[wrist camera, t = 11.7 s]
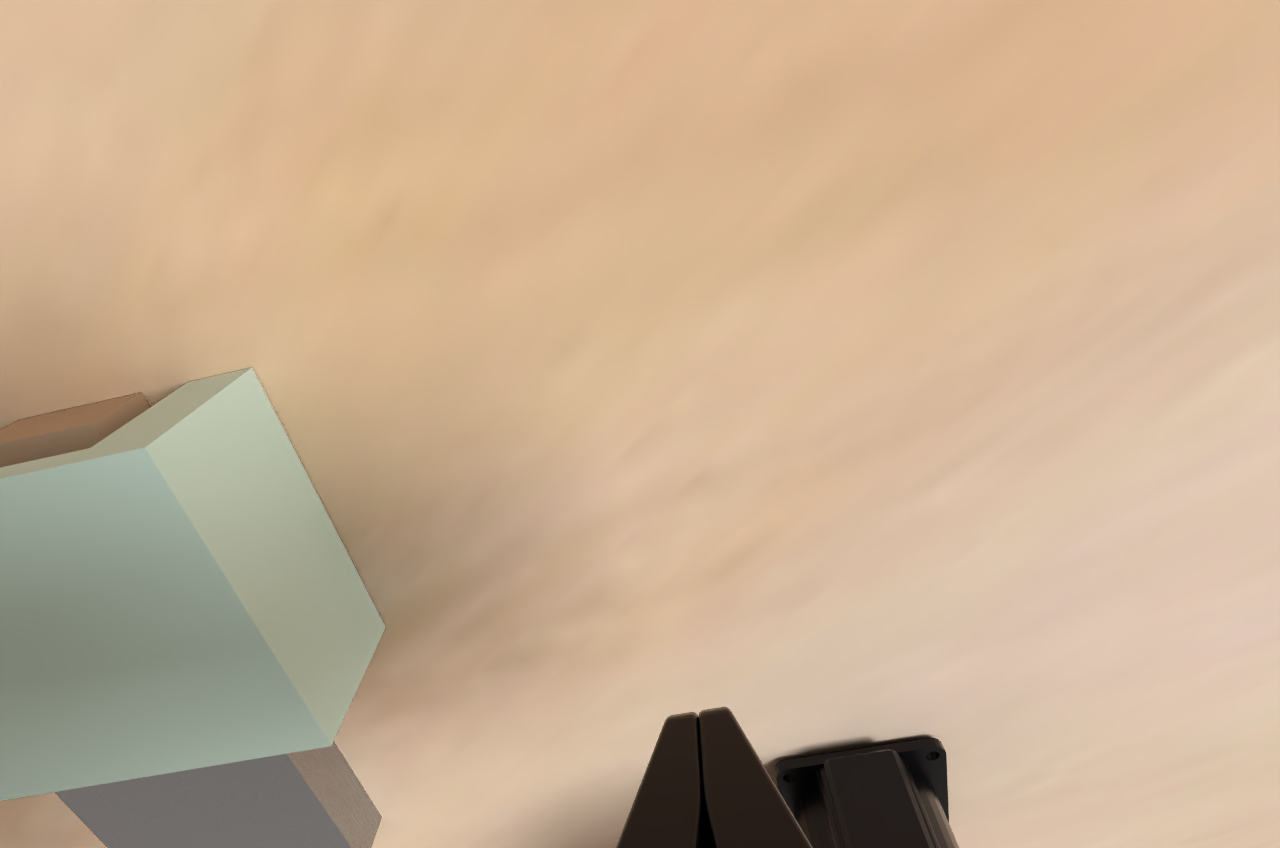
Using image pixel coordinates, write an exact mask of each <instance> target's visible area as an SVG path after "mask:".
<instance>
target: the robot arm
mask: <svg viewBox="0 0 1280 848" xmlns="http://www.w3.org/2000/svg"><path fill="white" fill-rule="evenodd" d="M775 774H776V779H777V784H778V789H779V791H778V789H777V787H776V786H775V784H774V782H773V781H772V779H771V777H770V776H769V774H768V772H767V770H766V769H765V767H764V765H763V764H762V762H761V760H760V759H759V757H758V755H757V754H756V752H755V750H754V749H753V747H752V745H751V744H750V742H749V740H748V739H747V737H746V735H745V734H744V732H743V730H742V729H741V727H740V725H739V724H738V722H737V720H736V719H735V717H734V715H733V714H732V712H731V711H730V709H728V708H727V707H720V708H714V709H707V710H703V711H701V712H700V713H699V716H698V715H697V714H696V713H694V712H689V713H683V714H676V715H671V716H669V717H668V718H667V719H666V721H665V723H664V725H663V728H662V730H661V733H660V735H659V738H658V741H657V743H656V746H655V748H654V751H653V754H652V756H651V759H650V761H649V764H648V767H647V769H646V772H645V774H644V777H643V779H642V782H641V785H640V787H639V790H638V792H637V795H636V798H635V800H634V803H633V805H632V808H631V811H630V813H629V816H628V818H627V821H626V823H625V826H624V829H623V831H622V834H621V836H620V839H619V842H618V844H617V847H616V848H959V846H958V844H957V842H956V839H955V837H954V834H953V832H952V830H951V827H950V825H949V814H948V788H947V762H946V752H945V750H944V747H943V745H942V743H941V741H939V740H938V739H935V738H926V739H920V740H913V741H907V742H900V743H894V744H887V745H881V746H874V747H868V748H861V749H855V750H848V751H842V752H835V753H829V754H822V755H816V756H809V757H803V758H796V759H790V760H784V761H781V762H779V763H778V764H777V765H776V766H775Z"/></svg>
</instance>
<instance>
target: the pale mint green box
mask: <svg viewBox="0 0 1280 848" xmlns="http://www.w3.org/2000/svg"><path fill="white" fill-rule="evenodd" d="M385 628H386V626H385V624H384V623H383V621H382V619H381V617H380V615H379V613H378V611H377V609H376V607H375V605H374V603H373V601H372V599H371V597H370V595H369V593H368V591H367V589H366V588H365V586H364V584H363V582H362V580H361V578H360V576H359V574H358V572H357V570H356V568H355V566H354V564H353V562H352V560H351V558H350V556H349V554H348V553H347V551H346V549H345V547H344V545H343V543H342V541H341V539H340V537H339V535H338V533H337V531H336V529H335V527H334V525H333V523H332V521H331V519H330V518H329V516H328V514H327V512H326V510H325V508H324V506H323V504H322V502H321V500H320V498H319V496H318V494H317V492H316V490H315V488H314V486H313V484H312V483H311V481H310V479H309V477H308V475H307V473H306V471H305V469H304V467H303V465H302V463H301V461H300V459H299V457H298V455H297V453H296V451H295V449H294V448H293V446H292V444H291V442H290V440H289V438H288V436H287V434H286V432H285V430H284V428H283V426H282V424H281V422H280V420H279V418H278V416H277V414H276V413H275V411H274V409H273V407H272V405H271V403H270V401H269V399H268V397H267V395H266V393H265V391H264V389H263V387H262V385H261V383H260V381H259V379H258V378H257V376H256V374H255V372H254V370H253V368H247V369H243V370H239V371H234V372H230V373H225V374H221V375H216V376H212V377H207V378H203V379H198V380H194V381H190V382H187V383H186V384H184V385H183V386H181V387H180V388H178V389H177V390H175V391H174V392H172V393H171V394H169V395H168V396H167V397H165V398H164V399H162V400H161V401H159V402H158V403H156V404H155V405H153V406H152V407H150V406H149V404H148V403H147V401H146V399H145V398H144V396H143V394H142V393H141V392H140V393H136V394H132V395H127V396H123V397H118V398H114V399H109V400H105V401H100V402H96V403H91V404H87V405H83V406H78V407H74V408H69V409H65V410H60V411H56V412H51V413H47V414H42V415H38V416H33V417H29V418H25V419H20V420H18V421H16V422H14V423H12V424H10V425H8V426H7V427H5V428H3V429H1V430H0V801H4V800H10V799H16V798H22V797H28V796H34V795H40V794H46V793H52V792H58V791H64V790H70V789H76V788H82V787H88V786H94V785H100V784H106V783H112V782H118V781H124V780H130V779H136V778H142V777H148V776H154V775H160V774H166V773H172V772H178V771H184V770H190V769H196V768H203V767H209V766H215V765H221V764H227V763H233V762H239V761H245V760H251V759H257V758H263V757H269V756H275V755H281V754H287V753H293V752H299V751H305V750H311V749H317V748H323V747H329V746H332V744H333V742H334V739H335V737H336V735H337V733H338V731H339V728H340V726H341V724H342V722H343V720H344V717H345V715H346V713H347V711H348V709H349V707H350V704H351V702H352V700H353V698H354V696H355V693H356V691H357V689H358V687H359V685H360V683H361V680H362V678H363V676H364V674H365V672H366V669H367V667H368V665H369V663H370V661H371V659H372V656H373V654H374V652H375V650H376V648H377V645H378V643H379V641H380V639H381V637H382V635H383V632H384V630H385Z"/></svg>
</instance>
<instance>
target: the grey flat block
mask: <svg viewBox="0 0 1280 848" xmlns="http://www.w3.org/2000/svg"><path fill="white" fill-rule="evenodd" d="M55 793H56V794H57V795H58V796H59V797H60V799H61V800H62V801H63V802H64V803H65V804H66V805H67V806H68V807H69V808H70V809H71V810H72V811H73V812H74V813H75V814H76V815H77V816H78V817H79V818H80V819H81V820H82V822H83V823H84V824H85V825H86V826H87V827H88V828H89V829H90V830H91V831H92V832H93V833H94V834H95V835H96V836H97V837H98V838H99V839H100V840H101V841H102V842H103V843H104V845H105V846H106V847H107V848H371V847H372V844H373V841H374V838H375V835H376V832H377V829H378V827H379V824H380V821H381V818H382V817H381V815H380V813H379V812H378V810H377V809H376V807H375V806H374V804H373V802H372V801H371V799H370V798H369V796H368V794H367V793H366V791H365V790H364V788H363V787H362V785H361V783H360V782H359V780H358V779H357V777H356V775H355V774H354V772H353V771H352V769H351V768H350V766H349V764H348V763H347V761H346V760H345V758H344V756H343V755H342V753H341V752H340V750H339V749H338V747H337V745H336V744H335V742H333V744H332V746H329V747H323V748H317V749H311V750H305V751H299V752H293V753H287V754H281V755H275V756H269V757H263V758H257V759H251V760H245V761H239V762H233V763H227V764H221V765H215V766H209V767H203V768H196V769H190V770H184V771H178V772H172V773H166V774H160V775H154V776H148V777H142V778H136V779H130V780H124V781H118V782H112V783H106V784H100V785H94V786H88V787H82V788H76V789H70V790H64V791H58V792H55Z"/></svg>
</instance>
